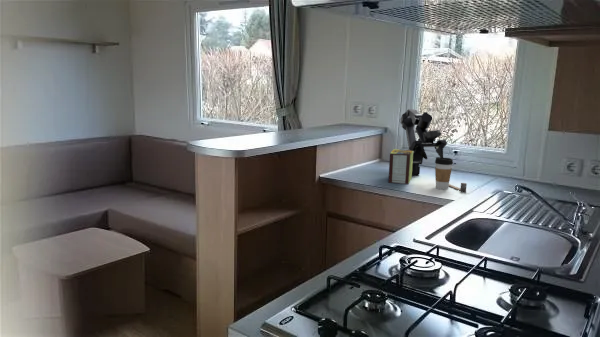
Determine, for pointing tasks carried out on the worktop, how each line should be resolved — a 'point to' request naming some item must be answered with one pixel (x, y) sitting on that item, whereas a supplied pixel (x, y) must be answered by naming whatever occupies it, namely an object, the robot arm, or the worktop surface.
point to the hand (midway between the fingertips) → (434, 158)
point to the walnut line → (462, 189)
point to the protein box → (400, 166)
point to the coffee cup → (443, 172)
